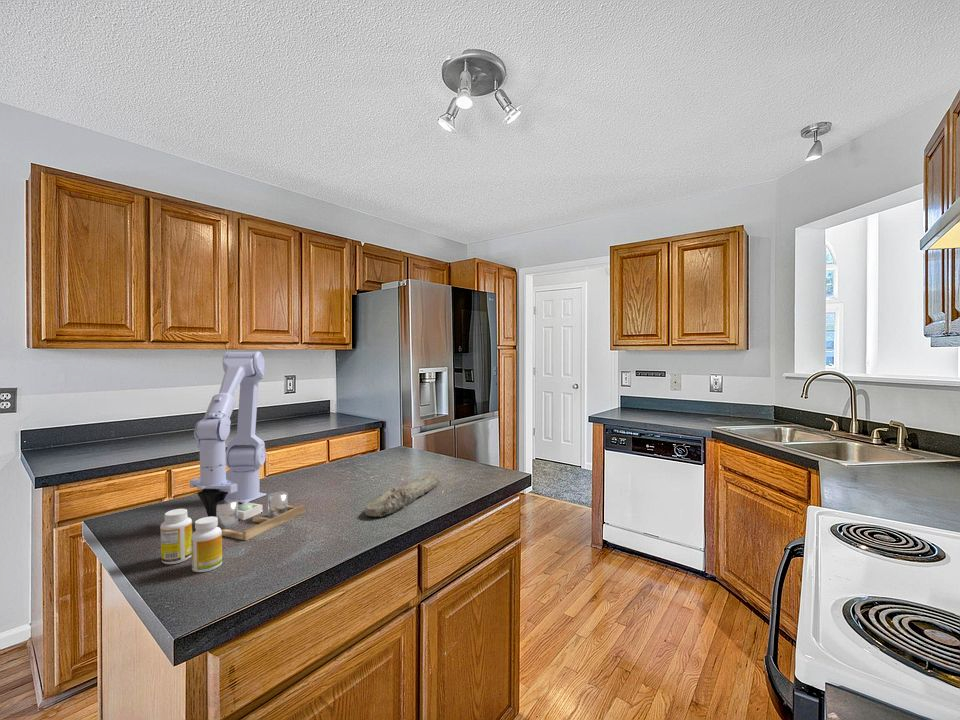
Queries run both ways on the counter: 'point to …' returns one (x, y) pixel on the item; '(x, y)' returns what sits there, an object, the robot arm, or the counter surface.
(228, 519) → the billet
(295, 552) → the counter surface
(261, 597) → the counter surface
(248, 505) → the button
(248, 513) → the button housing
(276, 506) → the cylinder
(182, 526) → the supplement bottle
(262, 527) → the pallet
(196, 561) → the supplement bottle
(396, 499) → the elongated rock
